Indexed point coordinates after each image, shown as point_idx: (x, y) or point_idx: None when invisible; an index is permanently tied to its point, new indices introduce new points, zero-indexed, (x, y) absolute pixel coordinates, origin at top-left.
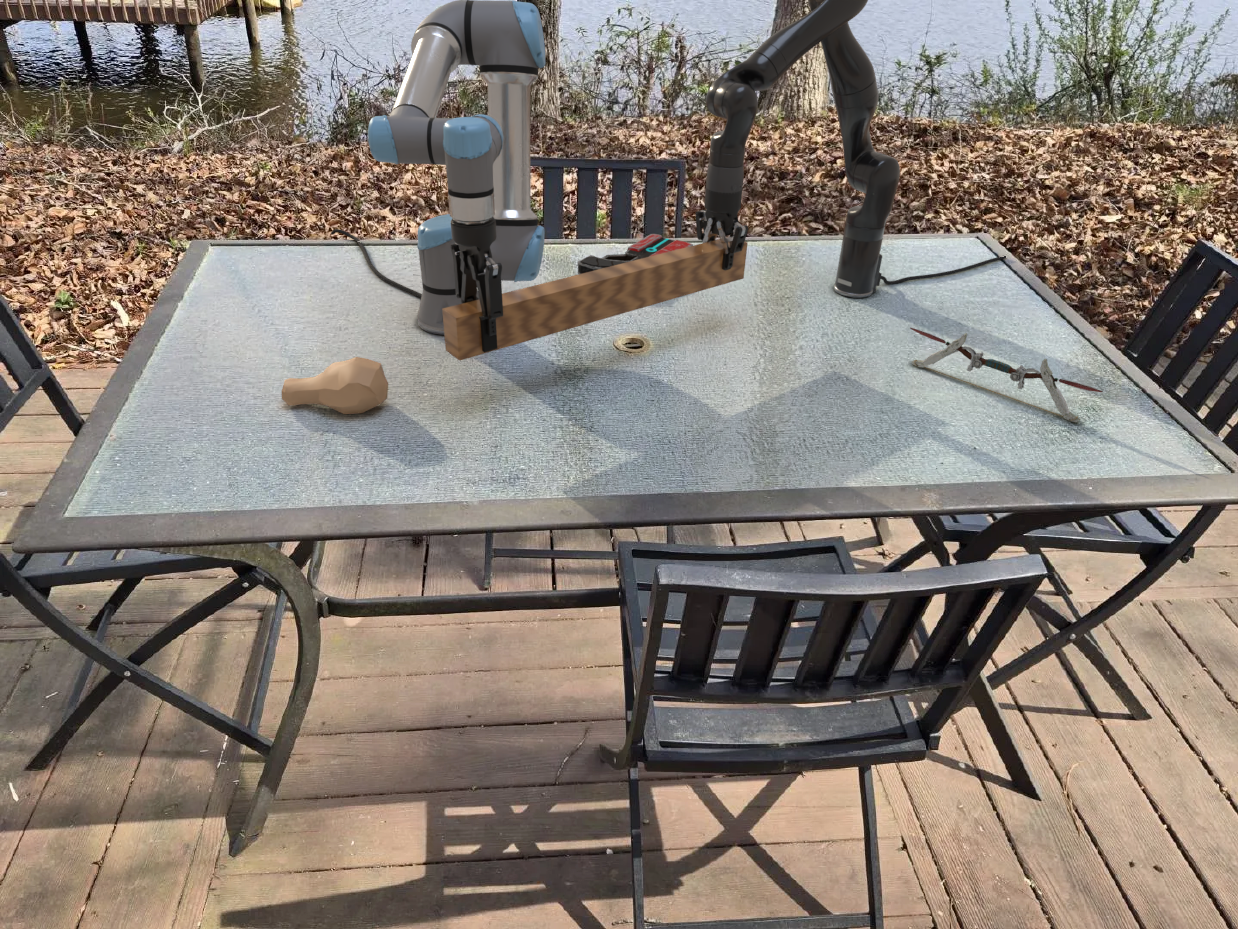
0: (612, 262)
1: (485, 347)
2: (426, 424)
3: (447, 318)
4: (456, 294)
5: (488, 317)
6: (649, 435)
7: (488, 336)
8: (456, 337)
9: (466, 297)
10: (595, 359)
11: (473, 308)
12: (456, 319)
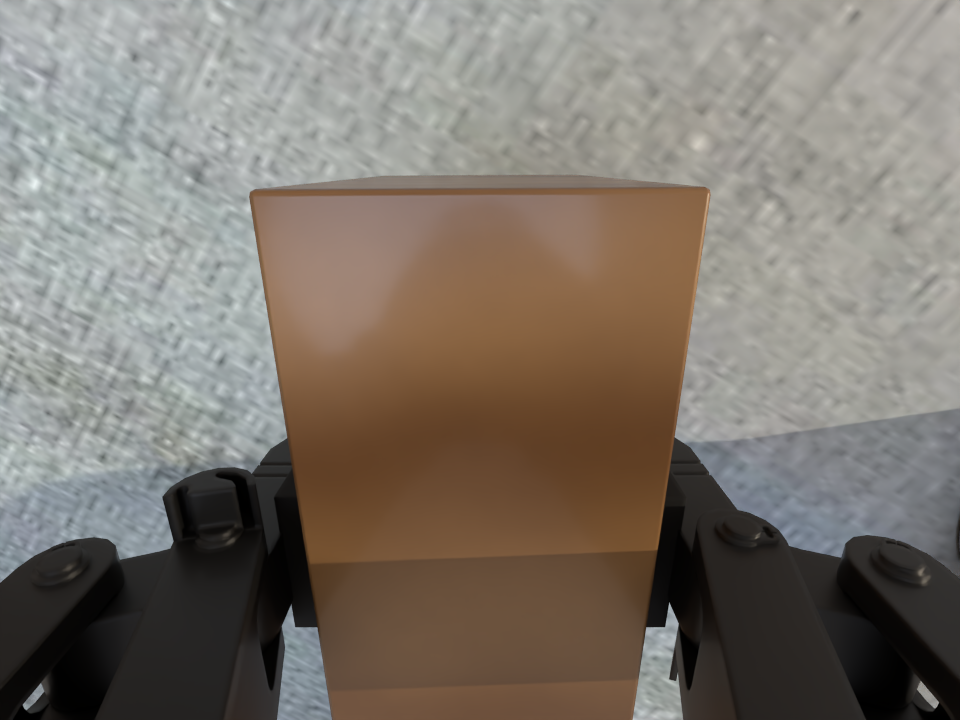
0: None
1: None
2: (484, 18)
3: (534, 183)
4: (913, 564)
5: (108, 547)
6: None
7: None
8: (361, 180)
9: (702, 610)
10: None
11: (441, 534)
12: (254, 193)
